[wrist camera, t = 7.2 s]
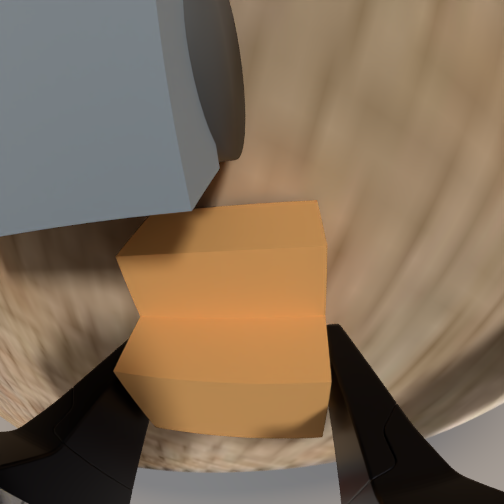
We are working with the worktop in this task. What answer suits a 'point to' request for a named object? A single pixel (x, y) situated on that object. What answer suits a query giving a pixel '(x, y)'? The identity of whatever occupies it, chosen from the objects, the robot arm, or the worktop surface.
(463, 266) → the worktop surface
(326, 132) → the worktop surface
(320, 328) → the chock
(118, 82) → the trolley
